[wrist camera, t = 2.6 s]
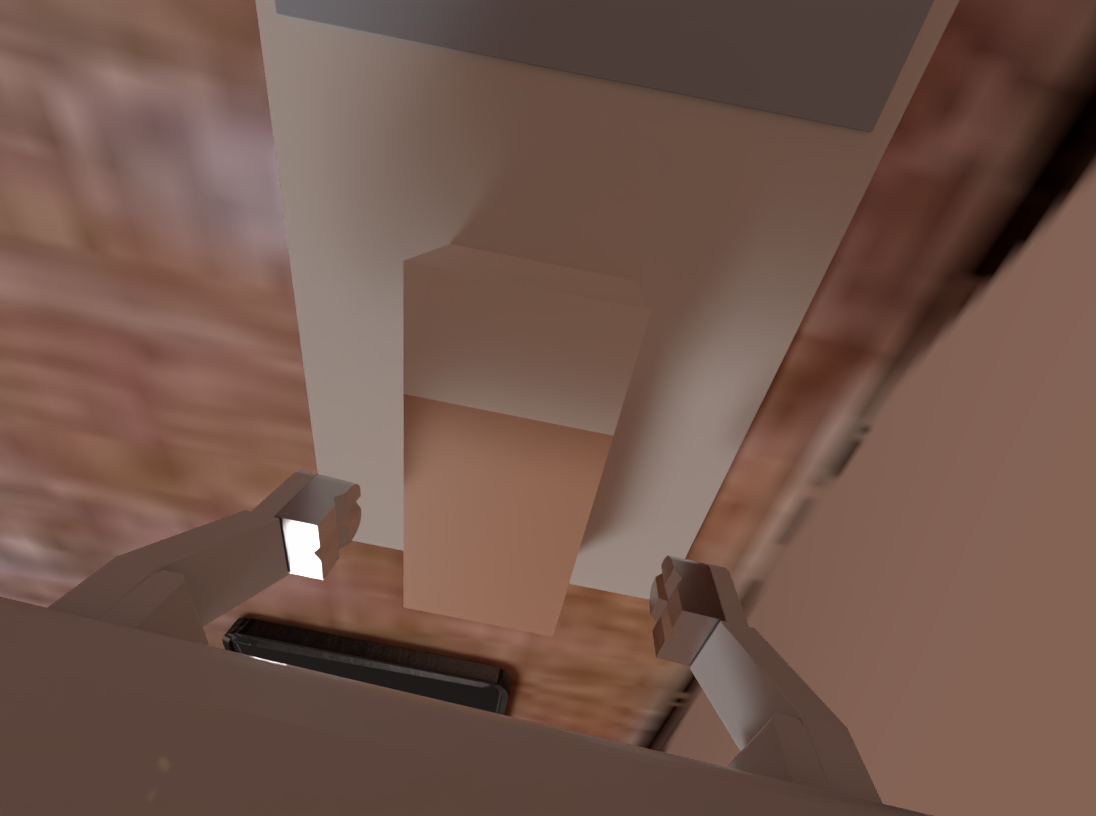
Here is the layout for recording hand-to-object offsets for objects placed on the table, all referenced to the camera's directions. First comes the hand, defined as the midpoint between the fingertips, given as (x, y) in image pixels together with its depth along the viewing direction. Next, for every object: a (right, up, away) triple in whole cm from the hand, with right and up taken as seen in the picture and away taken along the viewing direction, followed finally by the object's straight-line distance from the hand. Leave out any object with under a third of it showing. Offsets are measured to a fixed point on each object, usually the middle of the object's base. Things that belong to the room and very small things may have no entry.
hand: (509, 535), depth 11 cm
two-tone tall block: (0, +2, +3) cm, 4 cm away
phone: (-9, -12, +13) cm, 19 cm away
